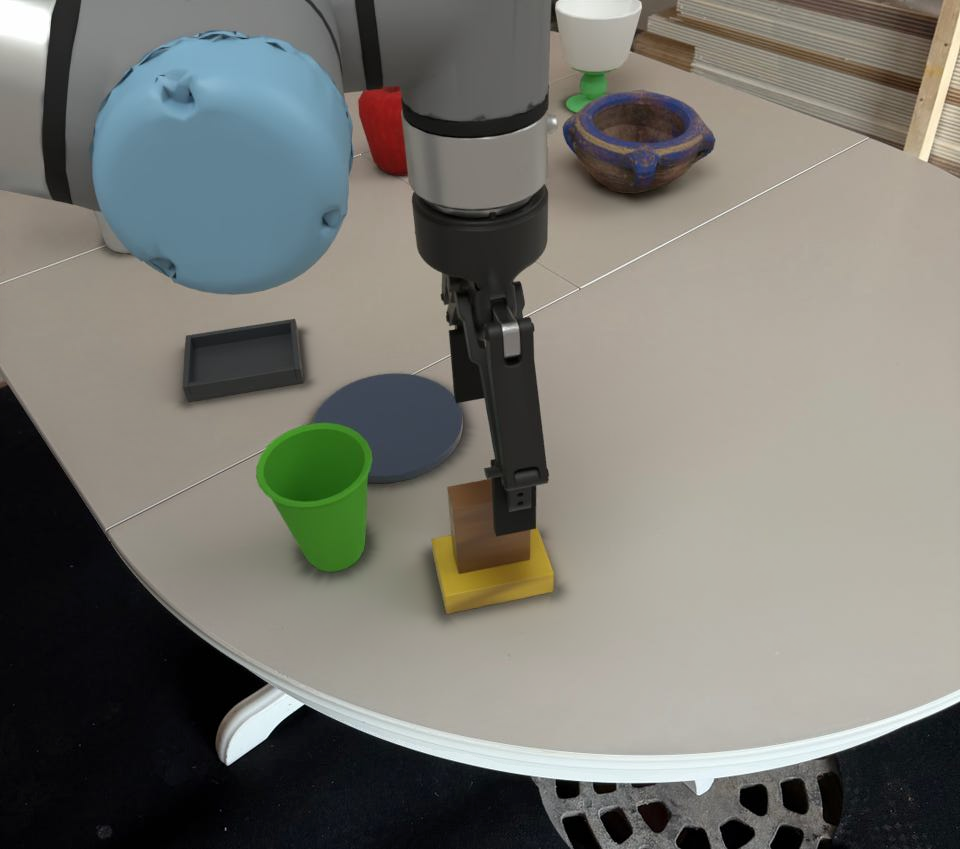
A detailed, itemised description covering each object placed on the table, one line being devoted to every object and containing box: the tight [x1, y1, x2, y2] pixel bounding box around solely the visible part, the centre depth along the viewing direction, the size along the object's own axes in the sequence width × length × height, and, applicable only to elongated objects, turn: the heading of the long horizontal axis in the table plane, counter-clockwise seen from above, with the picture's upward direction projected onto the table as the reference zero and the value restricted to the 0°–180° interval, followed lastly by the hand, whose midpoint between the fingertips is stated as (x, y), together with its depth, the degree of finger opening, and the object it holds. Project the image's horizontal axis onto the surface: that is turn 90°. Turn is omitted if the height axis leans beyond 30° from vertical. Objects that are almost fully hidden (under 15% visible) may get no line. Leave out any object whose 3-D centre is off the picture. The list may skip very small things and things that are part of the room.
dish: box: [181, 318, 305, 403], centre depth 90 cm, size 12×9×2 cm
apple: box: [357, 86, 408, 176], centre depth 120 cm, size 11×10×14 cm
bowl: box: [562, 89, 716, 194], centre depth 116 cm, size 18×18×10 cm
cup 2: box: [554, 0, 643, 114], centre depth 134 cm, size 14×14×16 cm
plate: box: [312, 373, 464, 484], centre depth 82 cm, size 15×15×1 cm
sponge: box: [430, 478, 555, 615], centre depth 66 cm, size 9×6×10 cm, turn 103°
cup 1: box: [255, 423, 372, 573], centre depth 68 cm, size 9×9×11 cm
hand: (491, 457), depth 59 cm, fingers open, 13 cm apart
